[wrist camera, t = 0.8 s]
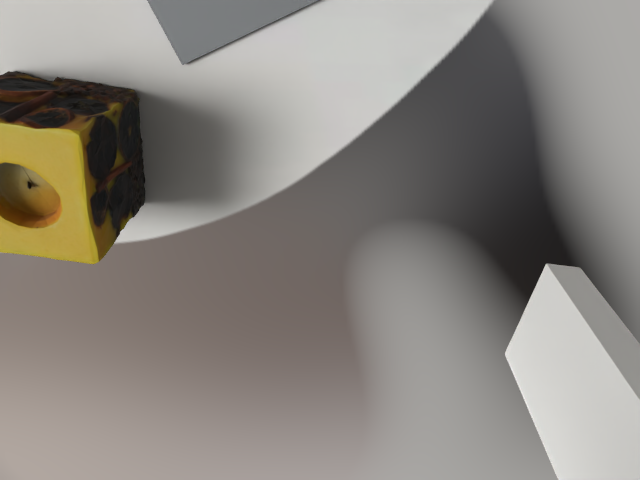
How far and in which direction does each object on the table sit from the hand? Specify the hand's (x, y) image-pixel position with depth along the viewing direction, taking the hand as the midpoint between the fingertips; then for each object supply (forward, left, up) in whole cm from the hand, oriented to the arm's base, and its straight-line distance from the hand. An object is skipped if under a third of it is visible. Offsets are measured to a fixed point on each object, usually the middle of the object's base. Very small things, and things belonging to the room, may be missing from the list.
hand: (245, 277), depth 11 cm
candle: (-1, -20, -29) cm, 35 cm away
